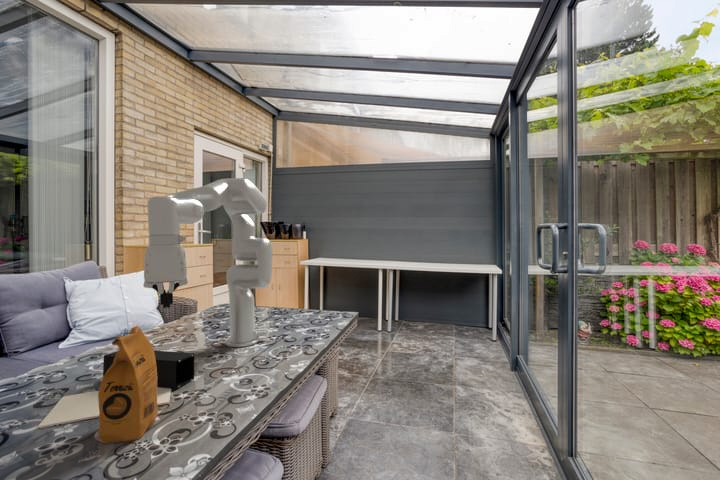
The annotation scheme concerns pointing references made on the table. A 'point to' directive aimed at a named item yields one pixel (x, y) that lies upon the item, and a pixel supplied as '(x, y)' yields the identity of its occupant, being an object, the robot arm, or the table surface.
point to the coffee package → (128, 390)
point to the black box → (166, 367)
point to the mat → (86, 407)
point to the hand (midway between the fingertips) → (166, 306)
